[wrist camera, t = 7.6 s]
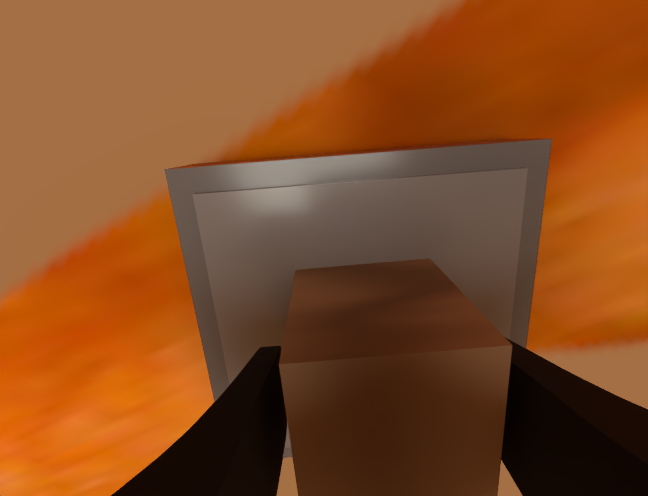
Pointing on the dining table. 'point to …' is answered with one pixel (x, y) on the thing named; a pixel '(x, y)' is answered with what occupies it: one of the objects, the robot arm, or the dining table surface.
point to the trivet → (355, 232)
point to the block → (392, 383)
